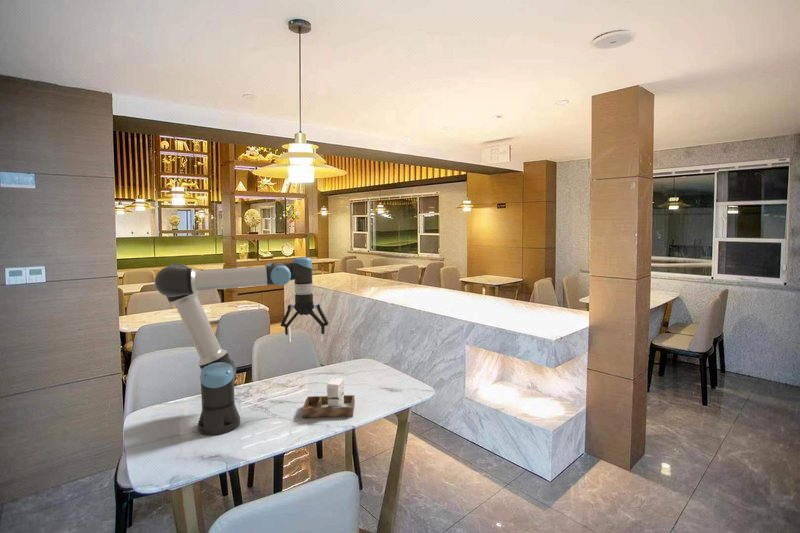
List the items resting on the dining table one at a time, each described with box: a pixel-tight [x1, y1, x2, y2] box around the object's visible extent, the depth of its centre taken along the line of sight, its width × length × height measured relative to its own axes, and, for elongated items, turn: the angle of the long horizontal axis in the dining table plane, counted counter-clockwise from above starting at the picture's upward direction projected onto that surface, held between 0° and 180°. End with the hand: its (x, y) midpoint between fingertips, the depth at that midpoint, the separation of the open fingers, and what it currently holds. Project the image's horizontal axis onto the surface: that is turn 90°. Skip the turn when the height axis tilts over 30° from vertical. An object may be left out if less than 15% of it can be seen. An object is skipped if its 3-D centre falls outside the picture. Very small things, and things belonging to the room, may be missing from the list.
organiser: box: [301, 394, 356, 419], centre depth 182 cm, size 20×13×4 cm, turn 93°
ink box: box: [326, 377, 345, 407], centre depth 182 cm, size 9×5×12 cm, turn 172°
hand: (305, 341), depth 190 cm, fingers open, 13 cm apart
